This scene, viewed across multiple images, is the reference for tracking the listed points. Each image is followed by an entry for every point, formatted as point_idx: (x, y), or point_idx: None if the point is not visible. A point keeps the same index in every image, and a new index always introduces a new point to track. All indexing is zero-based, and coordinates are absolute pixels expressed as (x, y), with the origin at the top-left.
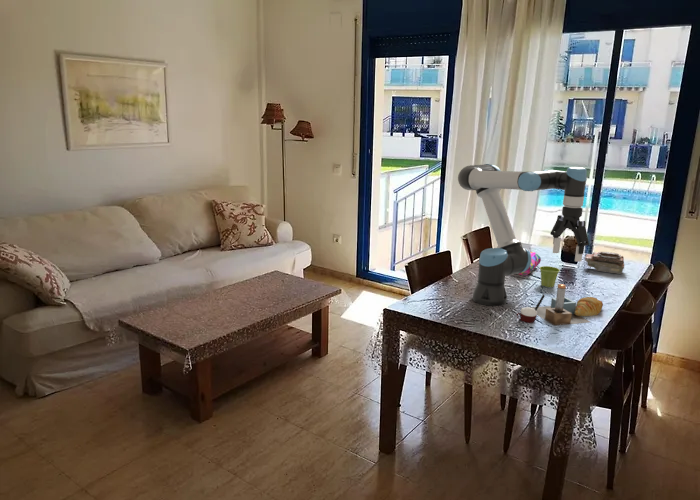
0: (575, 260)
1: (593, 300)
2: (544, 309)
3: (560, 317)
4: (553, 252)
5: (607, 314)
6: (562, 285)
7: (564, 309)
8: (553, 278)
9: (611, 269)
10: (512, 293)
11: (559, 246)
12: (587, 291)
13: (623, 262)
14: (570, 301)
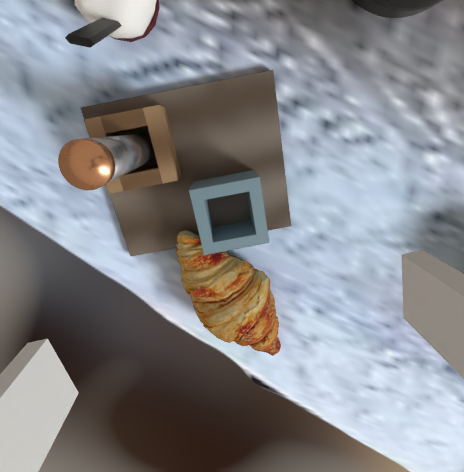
0: (30, 349)
1: (219, 321)
2: (251, 144)
3: None
4: (413, 256)
5: None
6: (81, 167)
7: (150, 183)
8: None
9: None
10: (460, 91)
11: (462, 371)
12: (404, 360)
13: None
14: (222, 240)
